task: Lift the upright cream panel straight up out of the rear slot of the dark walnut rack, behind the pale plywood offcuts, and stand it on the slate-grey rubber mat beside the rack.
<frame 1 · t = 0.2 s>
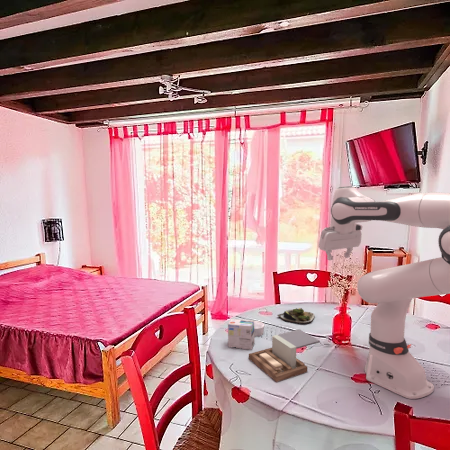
hand: (338, 258, 140), 39 cm above the table, tool pointing down, fingers open, 8 cm apart
walnut rack: (276, 365, 131), on the table
light bulb box: (241, 345, 148), on the table
upright cream panel: (283, 363, 133), resting in walnut rack
grey rubber mat: (297, 339, 153), on the table
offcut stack: (270, 367, 130), resting in walnut rack
salad plate: (296, 319, 178), on the table
ramekin: (255, 333, 161), on the table
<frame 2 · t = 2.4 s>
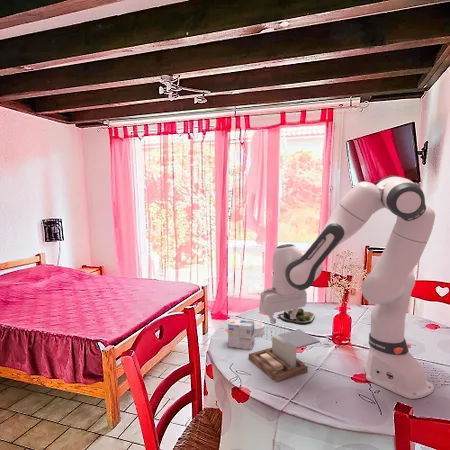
hand: (283, 320, 131), 17 cm above the table, tool pointing down, fingers open, 8 cm apart
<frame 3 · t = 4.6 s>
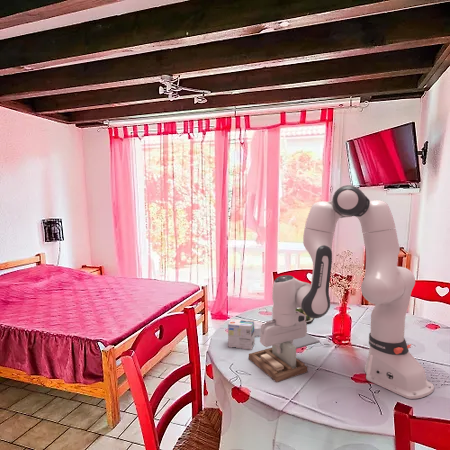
hand: (283, 351, 132), 5 cm above the table, tool pointing down, fingers closed on upright cream panel, 2 cm apart
upright cream panel: (283, 363, 133), resting in walnut rack, touching gripper
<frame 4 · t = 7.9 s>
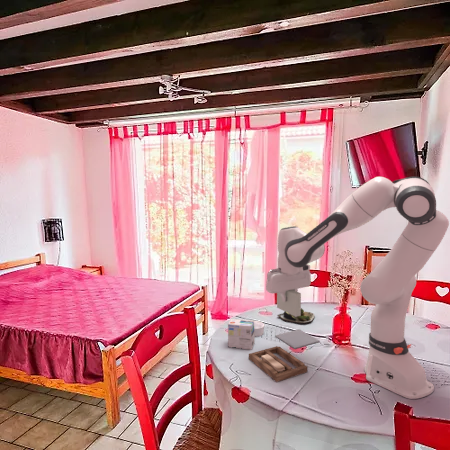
hand: (288, 300, 136), 23 cm above the table, tool pointing down, fingers closed on upright cream panel, 2 cm apart
upright cream panel: (288, 311, 137), point 18 cm above the table, touching gripper
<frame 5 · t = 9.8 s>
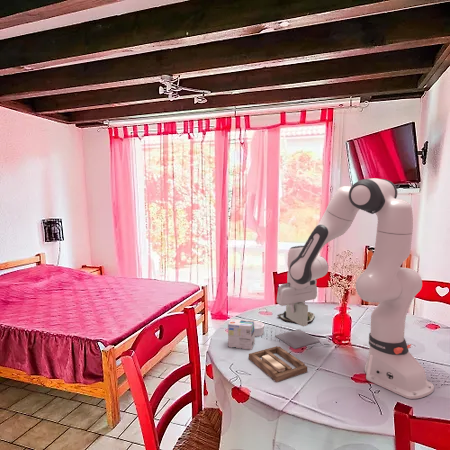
hand: (296, 311, 152), 13 cm above the table, tool pointing down, fingers closed on upright cream panel, 2 cm apart
upright cream panel: (296, 321, 153), point 8 cm above the table, touching gripper
when the fingers open (6 cm above the table, at t = 11.3 s): upright cream panel drops 1 cm, resting on grey rubber mat.
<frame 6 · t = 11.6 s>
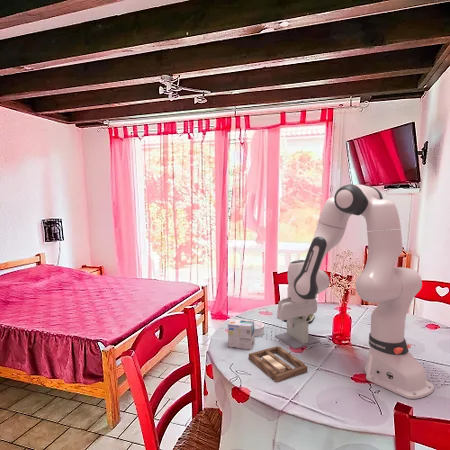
hand: (297, 325, 152), 6 cm above the table, tool pointing down, fingers open, 5 cm apart
upright cream panel: (297, 337, 153), point 1 cm above the table, touching grey rubber mat
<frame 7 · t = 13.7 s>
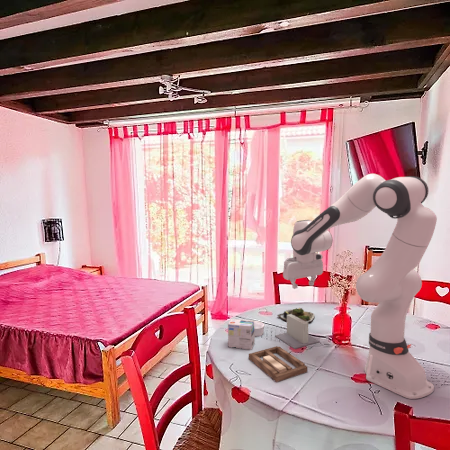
hand: (303, 286, 151), 24 cm above the table, tool pointing down, fingers open, 8 cm apart
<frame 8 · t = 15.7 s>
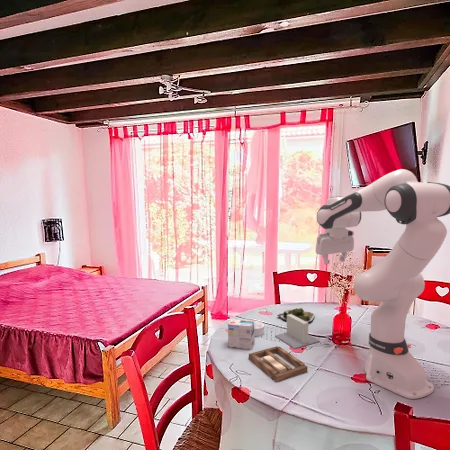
hand: (334, 262, 154), 34 cm above the table, tool pointing down, fingers open, 8 cm apart
at the end: upright cream panel inside the target area on the grey rubber mat (0.1 cm from its centre), point 0.6 cm above the grey rubber mat's base; upright cream panel tilted 0°; the gripper is holding nothing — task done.
